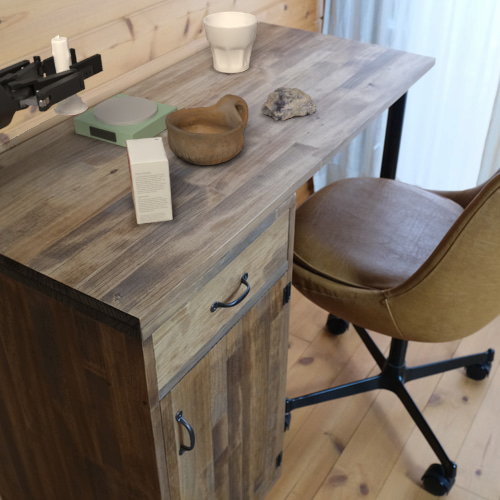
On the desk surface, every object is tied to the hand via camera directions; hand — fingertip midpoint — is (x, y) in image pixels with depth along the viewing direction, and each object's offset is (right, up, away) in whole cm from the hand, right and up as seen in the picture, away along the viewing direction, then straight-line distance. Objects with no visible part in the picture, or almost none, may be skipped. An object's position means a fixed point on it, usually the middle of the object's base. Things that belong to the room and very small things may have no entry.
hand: (86, 59), depth 105 cm
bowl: (+20, -13, +12) cm, 27 cm away
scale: (+3, -7, +21) cm, 22 cm away
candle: (-3, -8, 0) cm, 9 cm away
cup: (+22, +12, +47) cm, 54 cm away
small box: (+11, -25, -4) cm, 27 cm away
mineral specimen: (+34, -4, +25) cm, 43 cm away
